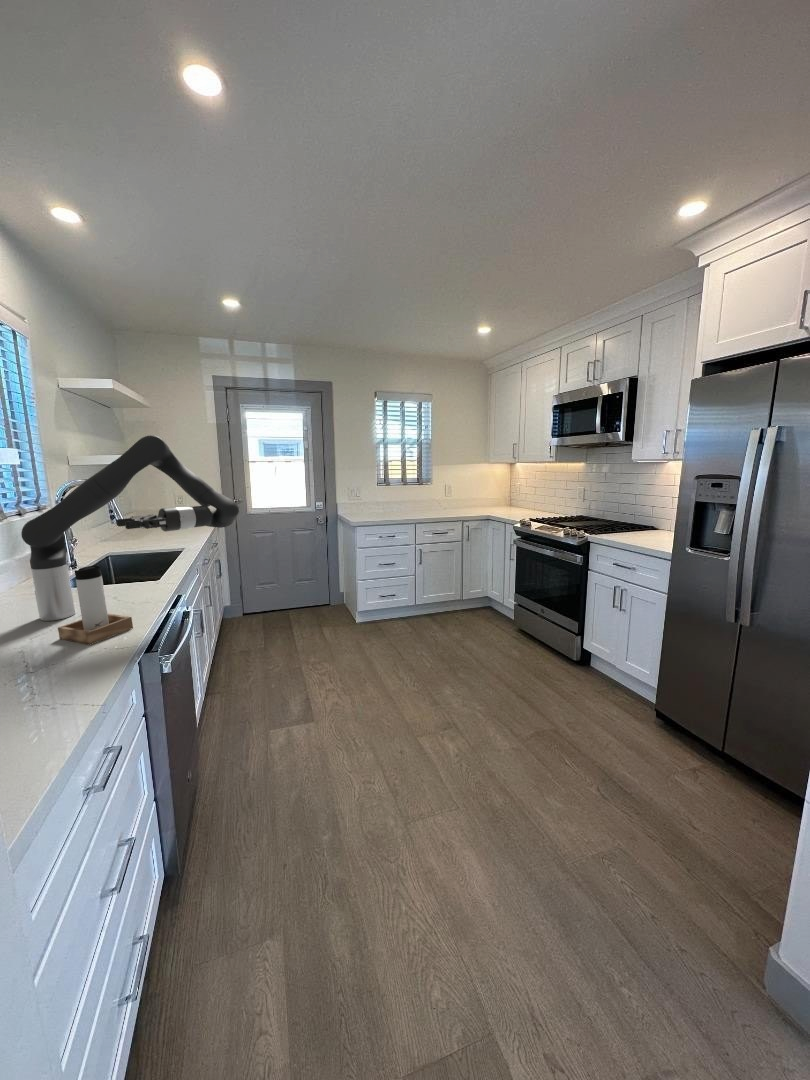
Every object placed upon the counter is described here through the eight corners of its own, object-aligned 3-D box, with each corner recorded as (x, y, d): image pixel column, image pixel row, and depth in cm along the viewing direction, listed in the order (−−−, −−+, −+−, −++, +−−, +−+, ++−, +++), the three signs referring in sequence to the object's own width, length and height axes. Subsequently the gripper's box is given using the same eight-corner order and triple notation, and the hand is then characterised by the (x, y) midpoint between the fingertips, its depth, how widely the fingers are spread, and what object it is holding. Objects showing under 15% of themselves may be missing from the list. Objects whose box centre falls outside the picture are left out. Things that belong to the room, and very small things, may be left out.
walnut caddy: (59, 639, 128) (57, 627, 127) (104, 623, 140) (102, 612, 139) (89, 644, 123) (87, 632, 123) (133, 627, 135) (131, 617, 135)
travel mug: (104, 634, 129) (94, 568, 125) (79, 636, 128) (68, 569, 124) (115, 626, 135) (105, 562, 131) (91, 627, 134) (81, 563, 131)
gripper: (167, 505, 149) (112, 510, 138) (185, 508, 140) (127, 513, 128) (170, 527, 151) (115, 534, 139) (187, 532, 141) (130, 539, 129)
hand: (121, 524), depth 133 cm, fingers open, 8 cm apart
